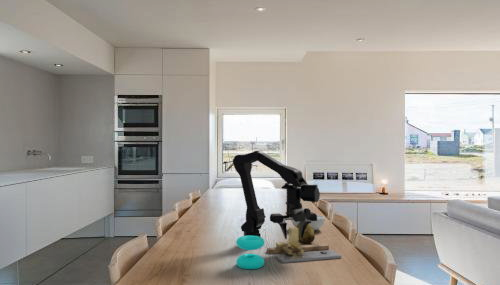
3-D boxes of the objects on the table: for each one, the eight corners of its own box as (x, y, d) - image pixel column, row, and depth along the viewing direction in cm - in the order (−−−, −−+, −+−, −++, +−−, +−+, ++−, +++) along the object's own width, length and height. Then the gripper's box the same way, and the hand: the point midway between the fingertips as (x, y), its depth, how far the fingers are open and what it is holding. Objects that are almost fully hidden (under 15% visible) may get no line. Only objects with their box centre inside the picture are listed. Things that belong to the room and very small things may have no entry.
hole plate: (282, 263, 139) (282, 260, 139) (275, 256, 146) (275, 253, 146) (341, 258, 145) (341, 255, 145) (331, 252, 153) (331, 249, 153)
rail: (275, 259, 143) (275, 250, 143) (266, 251, 154) (266, 243, 154) (338, 254, 149) (338, 246, 150) (324, 246, 161) (324, 239, 161)
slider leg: (297, 254, 145) (297, 233, 145) (286, 246, 157) (286, 226, 157) (307, 253, 146) (307, 232, 146) (295, 245, 158) (295, 226, 158)
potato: (295, 244, 165) (295, 225, 165) (296, 237, 178) (296, 220, 178) (314, 244, 164) (314, 226, 164) (314, 237, 177) (314, 220, 177)
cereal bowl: (324, 234, 183) (324, 220, 183) (289, 233, 186) (289, 218, 186) (324, 227, 200) (324, 213, 200) (292, 225, 203) (292, 212, 203)
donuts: (236, 241, 131) (236, 234, 141) (236, 270, 130) (236, 261, 140) (265, 241, 131) (263, 234, 141) (265, 270, 131) (263, 261, 141)
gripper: (278, 204, 145) (278, 245, 145) (323, 202, 150) (323, 241, 149) (269, 199, 156) (269, 238, 155) (311, 198, 160) (311, 235, 160)
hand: (293, 238), depth 155 cm, fingers open, 6 cm apart
